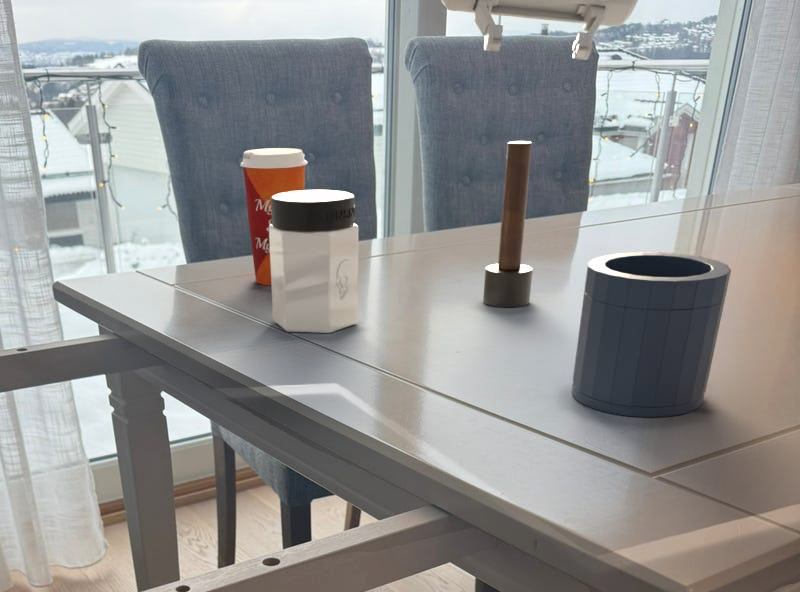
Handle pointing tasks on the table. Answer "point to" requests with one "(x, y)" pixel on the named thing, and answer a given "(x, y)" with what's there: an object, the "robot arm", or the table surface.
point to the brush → (511, 235)
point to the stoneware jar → (648, 332)
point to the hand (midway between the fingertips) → (537, 51)
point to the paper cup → (268, 196)
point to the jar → (314, 260)
